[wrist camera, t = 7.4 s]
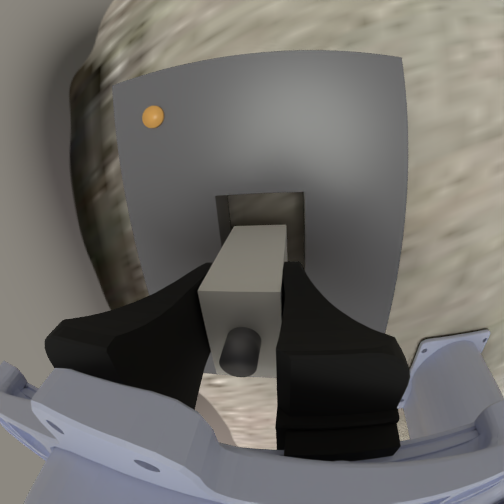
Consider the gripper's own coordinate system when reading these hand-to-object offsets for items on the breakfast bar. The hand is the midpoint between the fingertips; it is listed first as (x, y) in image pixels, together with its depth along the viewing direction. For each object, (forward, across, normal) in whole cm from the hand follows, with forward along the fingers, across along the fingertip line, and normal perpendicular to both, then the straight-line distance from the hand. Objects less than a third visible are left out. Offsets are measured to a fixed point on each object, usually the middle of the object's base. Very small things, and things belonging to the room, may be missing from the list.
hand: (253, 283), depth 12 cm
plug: (+3, 0, +1) cm, 3 cm away
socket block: (+6, 0, 0) cm, 6 cm away
